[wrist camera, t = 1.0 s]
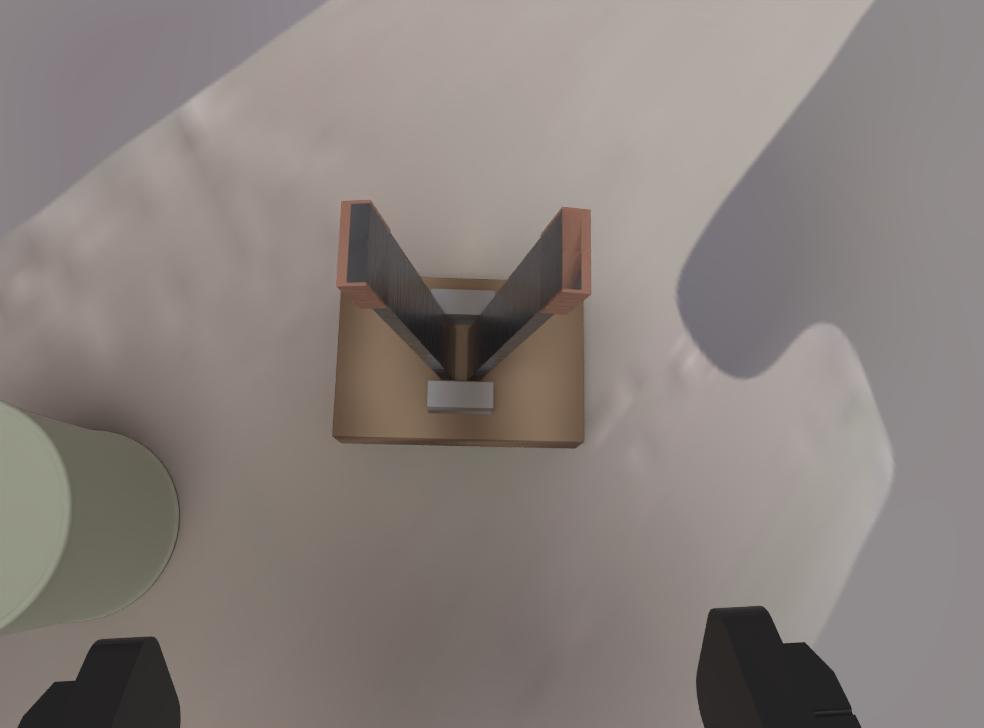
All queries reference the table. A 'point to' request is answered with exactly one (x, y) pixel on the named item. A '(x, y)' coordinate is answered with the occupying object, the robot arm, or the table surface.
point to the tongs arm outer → (534, 291)
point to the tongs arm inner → (392, 286)
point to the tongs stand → (459, 381)
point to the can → (77, 521)
